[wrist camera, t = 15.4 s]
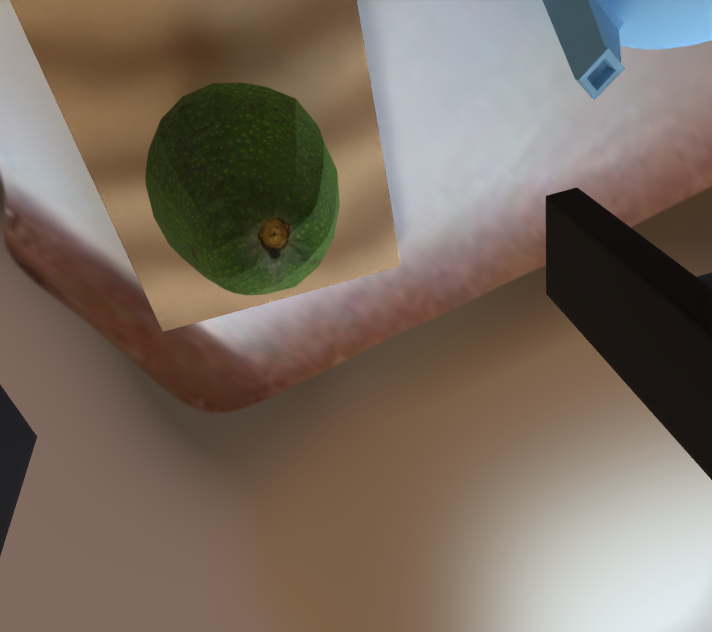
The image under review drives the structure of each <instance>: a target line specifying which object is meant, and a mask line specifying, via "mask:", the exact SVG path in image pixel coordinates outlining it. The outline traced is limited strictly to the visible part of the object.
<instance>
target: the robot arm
mask: <svg viewBox="0 0 712 632" xmlns="http://www.w3.org/2000/svg"><path fill="white" fill-rule="evenodd" d="M546 294H547V295H548V296H549V297H550V298H551V300H552V301H553V302H554V303H555V304H556V305H557V306H558V307H559V309H560V310H561V311H562V312H563V313H564V314H565V315H566V316H567V317H568V319H569V320H570V321H571V322H572V323H573V324H574V325H575V326H576V328H577V329H578V330H579V331H580V332H581V333H582V334H583V336H584V337H585V338H586V339H587V340H588V341H589V342H590V343H591V344H592V346H593V347H594V348H595V349H596V350H597V351H598V352H599V354H600V355H601V356H602V357H603V358H604V359H605V360H606V361H607V363H609V365H610V366H611V367H612V368H613V369H614V370H615V372H616V373H618V375H619V376H620V377H621V378H622V379H623V381H624V382H625V383H626V384H627V385H628V386H629V387H630V388H631V389H632V391H633V392H634V393H635V394H636V395H637V396H638V397H639V399H641V401H642V402H643V403H644V404H645V405H646V406H647V408H648V409H649V410H650V411H651V412H652V413H653V414H654V415H655V416H656V418H657V419H658V420H659V421H660V422H661V423H662V424H663V425H664V427H665V428H666V429H667V430H668V431H669V432H670V433H671V435H672V436H673V437H674V438H675V439H676V440H677V441H678V442H679V444H680V445H681V446H682V447H683V448H684V449H685V450H686V451H687V452H688V454H689V455H690V456H691V457H692V458H693V459H694V460H695V461H696V463H697V464H698V465H699V466H700V467H701V468H702V469H703V471H704V472H705V473H706V474H707V475H708V476H709V477H710V478H711V480H712V273H708V274H705V275H701V276H698V277H696V276H694V275H693V274H692V273H690V272H689V271H688V270H686V269H685V268H684V267H682V266H681V265H680V264H678V263H677V262H675V261H674V260H673V259H671V258H670V257H669V256H668V255H666V254H665V253H664V252H662V251H661V250H660V249H658V248H657V247H656V246H654V245H653V244H652V243H650V242H649V241H648V240H646V239H645V238H644V237H642V236H641V235H640V234H638V233H637V232H636V231H634V230H633V229H632V228H630V227H629V226H628V225H626V224H625V223H624V222H622V221H621V220H620V219H618V218H617V217H616V216H614V215H613V214H612V213H610V212H609V211H608V210H606V209H605V208H604V207H602V206H601V205H600V204H598V203H597V202H596V201H594V200H593V199H592V198H590V197H589V196H588V195H586V194H585V193H584V192H582V191H581V190H580V189H578V188H574V189H570V190H566V191H563V192H559V193H555V194H551V195H548V196H546ZM36 439H37V436H36V434H35V433H34V432H33V430H32V429H31V427H30V426H29V425H28V423H27V422H26V421H25V419H24V417H23V416H22V415H21V413H20V412H19V410H18V409H17V408H16V406H15V405H14V403H13V402H12V401H11V399H10V398H9V396H8V395H7V393H6V392H5V391H4V389H3V388H2V387H1V385H0V555H1V552H2V549H3V545H4V542H5V539H6V535H7V532H8V529H9V526H10V523H11V519H12V516H13V513H14V510H15V507H16V503H17V500H18V497H19V494H20V490H21V487H22V484H23V481H24V477H25V474H26V471H27V468H28V464H29V461H30V458H31V455H32V452H33V448H34V445H35V442H36Z"/></svg>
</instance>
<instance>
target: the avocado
mask: <svg viewBox="0 0 712 632" xmlns="http://www.w3.org/2000/svg"><path fill="white" fill-rule="evenodd" d="M145 178H146V188H147V192H148V196H149V200H150V204H151V208H152V212H153V216H154V218H155V220H156V222H157V224H158V226H159V227H160V229H161V231H162V233H163V235H164V236H165V238H166V240H167V242H168V244H169V245H170V246H171V247H172V248H173V249H174V250H175V251H176V252H177V253H178V254H179V255H180V256H181V257H182V258H183V259H184V260H185V261H186V262H187V263H189V264H190V265H191V266H192V267H193V268H194V269H196V270H197V271H198V272H199V273H200V274H201V275H203V276H204V277H205V278H207V279H208V280H210V281H212V282H214V283H215V284H217V285H218V286H220V287H222V288H223V289H225V290H227V291H230V292H232V293H236V294H242V295H265V294H269V293H273V292H277V291H281V290H285V289H289V288H293V287H296V286H297V285H298V284H299V283H301V282H302V281H303V280H304V279H305V278H306V277H307V276H308V275H310V274H311V273H312V272H313V271H314V270H315V269H317V268H318V267H319V265H320V263H321V262H322V260H323V258H324V256H325V255H326V253H327V251H328V250H329V248H330V245H331V243H332V240H333V238H334V234H335V229H336V223H337V218H338V213H339V208H340V199H339V186H338V174H337V169H336V167H335V164H334V162H333V160H332V158H331V156H330V154H329V152H328V149H327V147H326V145H325V143H324V140H323V137H322V134H321V132H320V129H319V126H318V125H317V124H316V122H315V121H314V120H313V119H312V117H311V116H310V115H309V114H308V113H307V111H306V110H305V109H304V108H303V107H302V105H301V104H300V103H299V102H298V101H297V99H295V98H293V97H290V96H288V95H285V94H283V93H280V92H278V91H275V90H273V89H270V88H268V87H264V86H259V85H254V84H247V83H212V84H210V85H208V86H205V87H203V88H201V89H198V90H196V91H194V92H192V93H189V94H187V95H185V96H183V97H182V98H181V99H180V100H179V101H178V102H177V103H176V104H175V105H174V106H173V107H172V108H171V109H170V110H169V111H168V112H167V113H166V114H165V115H164V116H163V117H162V118H161V120H160V122H159V125H158V127H157V130H156V132H155V135H154V137H153V140H152V142H151V145H150V147H149V151H148V157H147V165H146V176H145Z"/></svg>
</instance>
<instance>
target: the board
mask: <svg viewBox="0 0 712 632" xmlns="http://www.w3.org/2000/svg"><path fill="white" fill-rule="evenodd" d="M10 2H11V4H12V6H13V8H14V10H15V13H16V15H17V17H18V19H19V21H20V23H21V26H22V28H23V30H24V32H25V34H26V36H27V39H28V41H29V43H30V45H31V47H32V49H33V52H34V54H35V56H36V58H37V60H38V62H39V65H40V67H41V69H42V71H43V73H44V75H45V78H46V80H47V82H48V84H49V86H50V88H51V91H52V93H53V95H54V97H55V99H56V101H57V104H58V106H59V108H60V110H61V112H62V114H63V117H64V119H65V121H66V123H67V125H68V128H69V130H70V132H71V134H72V136H73V138H74V141H75V143H76V145H77V147H78V149H79V151H80V154H81V156H82V158H83V160H84V162H85V164H86V167H87V169H88V171H89V173H90V175H91V177H92V180H93V182H94V184H95V186H96V188H97V190H98V193H99V195H100V197H101V199H102V201H103V203H104V206H105V208H106V210H107V212H108V214H109V216H110V219H111V221H112V223H113V225H114V227H115V229H116V232H117V234H118V236H119V238H120V240H121V242H122V245H123V247H124V249H125V251H126V253H127V255H128V258H129V260H130V262H131V264H132V266H133V268H134V271H135V273H136V275H137V277H138V279H139V281H140V284H141V286H142V288H143V290H144V292H145V294H146V297H147V299H148V301H149V303H150V305H151V307H152V310H153V312H154V314H155V316H156V318H157V320H158V323H159V325H160V327H161V329H162V331H163V332H164V331H167V330H171V329H175V328H178V327H182V326H186V325H189V324H193V323H196V322H200V321H204V320H207V319H211V318H214V317H218V316H222V315H225V314H229V313H233V312H236V311H240V310H243V309H247V308H251V307H254V306H258V305H261V304H265V303H269V302H272V301H276V300H279V299H283V298H287V297H290V296H294V295H298V294H301V293H305V292H308V291H312V290H316V289H319V288H323V287H326V286H330V285H334V284H337V283H341V282H345V281H348V280H352V279H355V278H359V277H363V276H366V275H370V274H373V273H377V272H381V271H384V270H388V269H391V268H395V267H399V266H401V261H400V256H399V250H398V244H397V238H396V232H395V226H394V220H393V214H392V208H391V202H390V196H389V190H388V184H387V178H386V172H385V166H384V160H383V154H382V149H381V143H380V137H379V131H378V125H377V119H376V113H375V107H374V101H373V95H372V89H371V83H370V77H369V71H368V65H367V59H366V53H365V47H364V42H363V36H362V30H361V24H360V18H359V12H358V6H357V0H10ZM212 83H247V84H254V85H259V86H264V87H268V88H270V89H273V90H275V91H278V92H280V93H283V94H285V95H288V96H290V97H293V98H295V99H297V101H298V102H299V103H300V104H301V105H302V107H303V108H304V109H305V110H306V111H307V113H308V114H309V115H310V116H311V117H312V119H313V120H314V121H315V122H316V124H317V125H318V126H319V129H320V132H321V134H322V137H323V140H324V143H325V145H326V147H327V149H328V152H329V154H330V156H331V158H332V160H333V162H334V164H335V167H336V169H337V174H338V186H339V199H340V208H339V213H338V218H337V223H336V229H335V234H334V238H333V240H332V243H331V245H330V248H329V250H328V251H327V253H326V255H325V256H324V258H323V260H322V262H321V263H320V265H319V267H318V268H317V269H315V270H314V271H313V272H312V273H311V274H310V275H308V276H307V277H306V278H305V279H304V280H303V281H302V282H301V283H299V284H298V285H297V286H296V287H293V288H289V289H285V290H281V291H277V292H273V293H269V294H265V295H242V294H236V293H232V292H230V291H227V290H225V289H223V288H222V287H220V286H218V285H217V284H215V283H214V282H212V281H210V280H208V279H207V278H205V277H204V276H203V275H201V274H200V273H199V272H198V271H197V270H196V269H194V268H193V267H192V266H191V265H190V264H189V263H187V262H186V261H185V260H184V259H183V258H182V257H181V256H180V255H179V254H178V253H177V252H176V251H175V250H174V249H173V248H172V247H171V246H170V245H169V244H168V242H167V240H166V238H165V236H164V235H163V233H162V231H161V229H160V227H159V226H158V224H157V222H156V220H155V218H154V216H153V212H152V208H151V204H150V200H149V196H148V192H147V188H146V178H145V176H146V165H147V157H148V151H149V147H150V145H151V142H152V140H153V137H154V135H155V132H156V130H157V127H158V125H159V122H160V120H161V118H162V117H163V116H164V115H165V114H166V113H167V112H168V111H169V110H170V109H171V108H172V107H173V106H174V105H175V104H176V103H177V102H178V101H179V100H180V99H181V98H182V97H183V96H185V95H187V94H189V93H192V92H194V91H196V90H198V89H201V88H203V87H205V86H208V85H210V84H212Z"/></svg>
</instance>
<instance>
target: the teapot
mask: <svg viewBox="0 0 712 632" xmlns="http://www.w3.org/2000/svg"><path fill="white" fill-rule="evenodd" d="M543 2H544V5H545V7H546V9H547V12H548V14H549V17H550V19H551V22H552V24H553V26H554V29H555V31H556V34H557V36H558V39H559V41H560V43H561V46H562V48H563V51H564V53H565V56H566V58H567V60H568V63H569V65H570V68H571V70H572V72H573V75H574V77H575V79H576V80H577V82H578V83H579V84H580V85H581V86H582V87H583V88H584V90H585V91H586V92H587V93H588V94H589V95H590V96H591V98H593V99H596V98H597V97H598V96H599V95H600V94H601V93H602V92H603V91H604V90H605V89H606V88H607V87H608V86H609V85H610V83H611V82H612V81H613V80H614V79H615V78H616V77H617V76H618V75H619V74H620V73H621V72H622V71H623V70H624V69H625V68H624V67H623V66H622V64H621V55H620V46H624V47H630V48H635V49H668V48H675V47H683V46H690V45H695V44H699V43H702V42H706V41H710V40H712V0H543Z"/></svg>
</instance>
